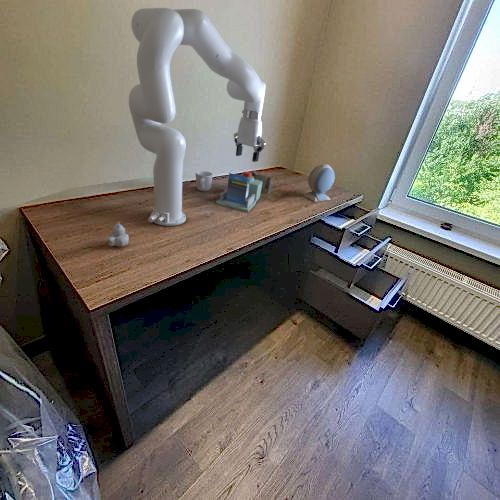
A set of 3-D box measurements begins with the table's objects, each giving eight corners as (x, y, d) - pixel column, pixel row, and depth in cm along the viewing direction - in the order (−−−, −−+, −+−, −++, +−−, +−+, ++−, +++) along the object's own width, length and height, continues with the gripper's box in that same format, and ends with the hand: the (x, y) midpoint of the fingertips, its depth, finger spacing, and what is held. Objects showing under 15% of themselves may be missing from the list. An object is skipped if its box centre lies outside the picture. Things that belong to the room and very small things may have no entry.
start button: (249, 178, 127) (249, 174, 126) (241, 177, 128) (242, 172, 127) (251, 176, 130) (252, 172, 129) (244, 175, 131) (244, 170, 130)
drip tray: (247, 212, 118) (249, 203, 116) (215, 203, 121) (216, 194, 119) (256, 203, 129) (257, 194, 127) (226, 195, 132) (227, 187, 130)
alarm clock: (318, 193, 156) (327, 161, 147) (332, 199, 149) (342, 166, 140) (300, 195, 148) (309, 161, 139) (313, 202, 142) (323, 167, 133)
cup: (209, 195, 128) (210, 178, 124) (192, 193, 128) (192, 176, 124) (212, 188, 137) (213, 172, 133) (196, 185, 137) (197, 169, 133)
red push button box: (255, 202, 129) (258, 181, 124) (227, 195, 132) (229, 174, 127) (259, 197, 136) (263, 177, 131) (233, 190, 139) (235, 171, 134)
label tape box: (247, 202, 125) (251, 175, 119) (244, 204, 122) (248, 177, 115) (229, 197, 127) (232, 170, 120) (225, 200, 123) (228, 172, 117)
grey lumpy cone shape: (134, 245, 84) (132, 221, 80) (114, 253, 79) (111, 228, 75) (122, 238, 87) (119, 215, 82) (102, 246, 82) (99, 222, 77)
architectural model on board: (249, 187, 146) (251, 169, 141) (252, 186, 148) (254, 168, 143) (267, 194, 141) (270, 175, 136) (270, 193, 144) (273, 174, 139)
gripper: (230, 111, 114) (226, 154, 123) (262, 119, 105) (256, 164, 114) (242, 112, 119) (238, 152, 128) (274, 119, 110) (267, 163, 119)
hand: (246, 158), depth 121 cm, fingers open, 9 cm apart
